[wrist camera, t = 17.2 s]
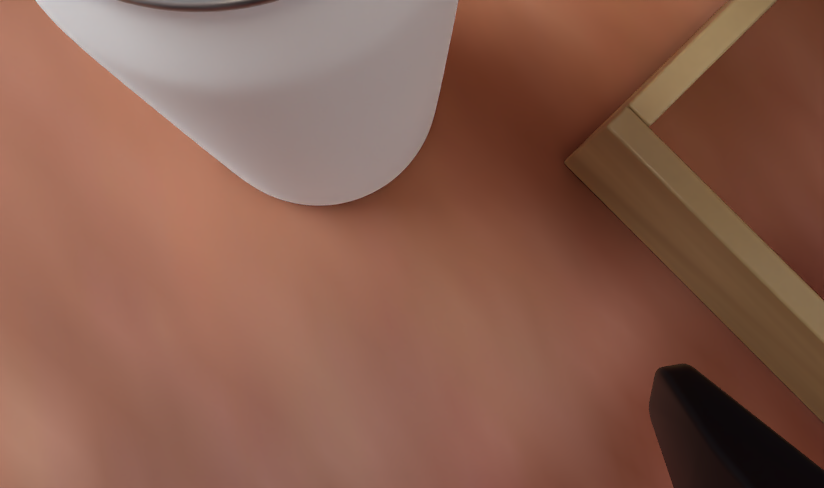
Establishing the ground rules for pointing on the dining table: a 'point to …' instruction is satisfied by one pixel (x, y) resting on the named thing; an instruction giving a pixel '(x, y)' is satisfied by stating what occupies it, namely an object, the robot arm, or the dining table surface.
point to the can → (280, 81)
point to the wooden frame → (706, 217)
